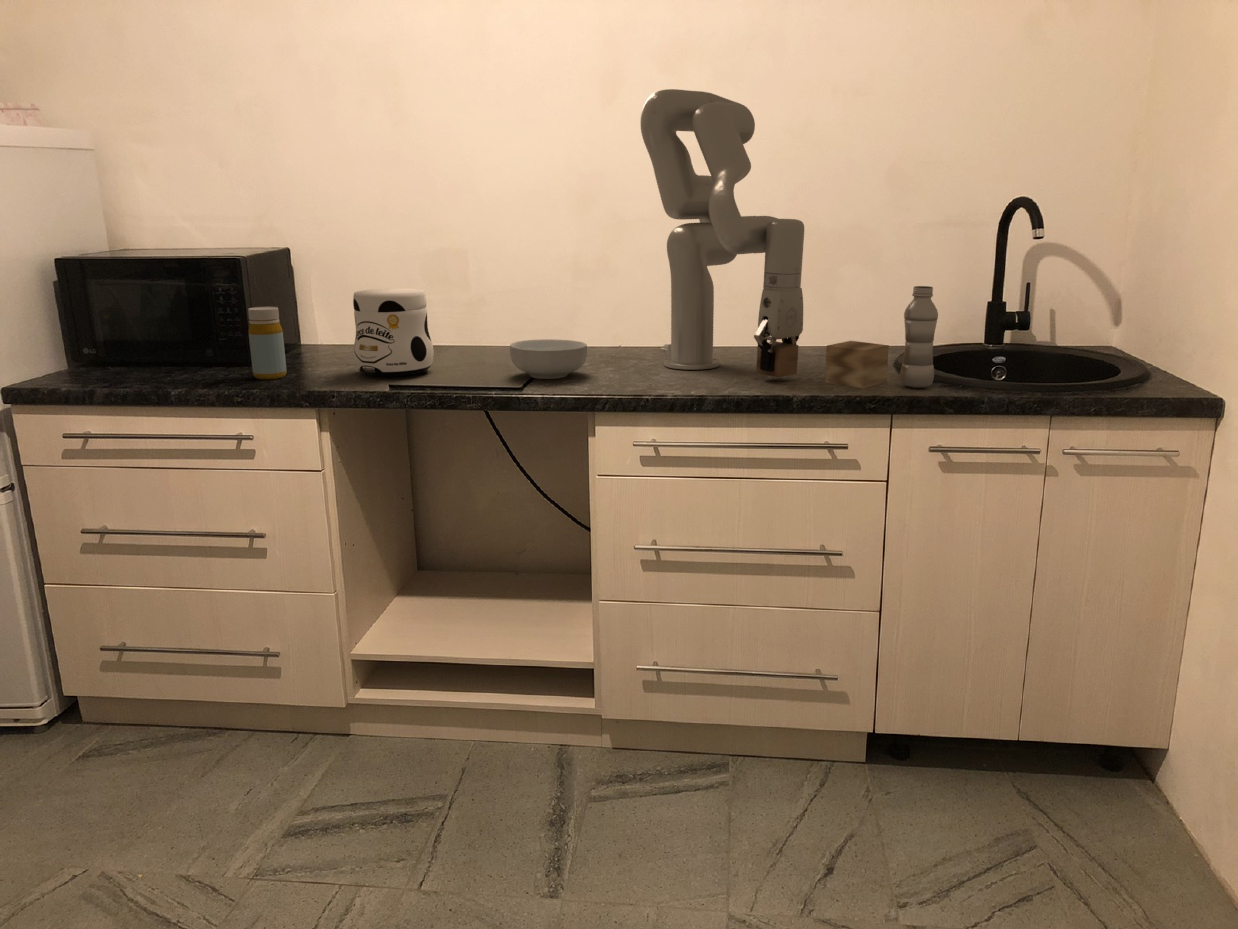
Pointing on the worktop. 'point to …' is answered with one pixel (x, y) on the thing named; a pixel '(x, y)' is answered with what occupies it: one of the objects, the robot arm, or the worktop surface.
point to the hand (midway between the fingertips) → (776, 367)
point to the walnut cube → (781, 360)
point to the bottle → (266, 343)
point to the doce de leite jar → (391, 332)
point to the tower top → (857, 355)
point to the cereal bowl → (548, 357)
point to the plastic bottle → (919, 339)
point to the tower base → (856, 376)
